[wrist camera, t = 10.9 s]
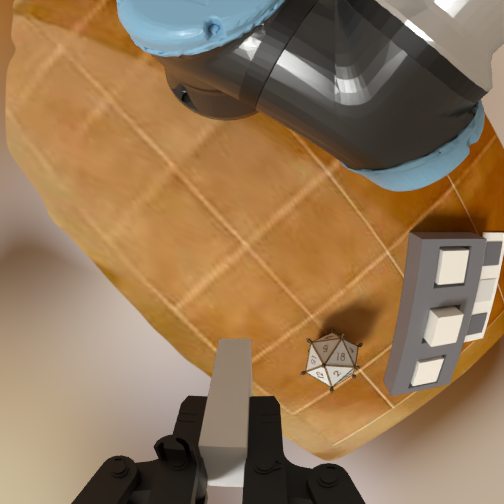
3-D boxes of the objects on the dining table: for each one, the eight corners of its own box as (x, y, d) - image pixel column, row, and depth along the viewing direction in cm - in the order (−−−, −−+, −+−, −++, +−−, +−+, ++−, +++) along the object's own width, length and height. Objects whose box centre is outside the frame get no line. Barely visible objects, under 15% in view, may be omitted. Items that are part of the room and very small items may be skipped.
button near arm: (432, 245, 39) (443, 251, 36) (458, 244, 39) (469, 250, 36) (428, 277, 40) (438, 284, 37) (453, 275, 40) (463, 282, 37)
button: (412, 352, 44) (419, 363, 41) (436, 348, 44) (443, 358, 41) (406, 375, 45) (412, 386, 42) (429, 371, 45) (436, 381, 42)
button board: (409, 231, 39) (422, 239, 36) (471, 232, 39) (486, 238, 35) (383, 381, 47) (390, 395, 43) (440, 371, 47) (449, 383, 43)
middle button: (429, 308, 40) (438, 317, 37) (453, 305, 39) (463, 314, 37) (422, 336, 41) (430, 346, 38) (447, 332, 41) (455, 342, 38)
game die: (332, 323, 48) (384, 335, 39) (323, 374, 47) (371, 392, 39) (290, 322, 43) (345, 338, 35) (280, 379, 42) (331, 404, 34)
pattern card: (482, 232, 39) (484, 232, 39) (505, 232, 39) (507, 233, 38) (459, 342, 45) (460, 343, 44) (481, 337, 45) (483, 338, 44)
